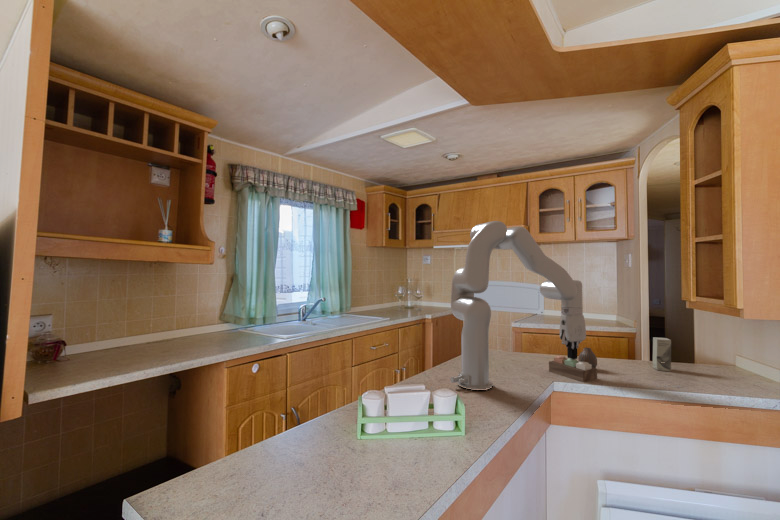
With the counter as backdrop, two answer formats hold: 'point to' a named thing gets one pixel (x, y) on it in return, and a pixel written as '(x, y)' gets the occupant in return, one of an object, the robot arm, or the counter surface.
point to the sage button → (571, 362)
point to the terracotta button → (560, 359)
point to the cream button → (583, 365)
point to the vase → (588, 357)
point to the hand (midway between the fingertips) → (572, 358)
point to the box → (662, 354)
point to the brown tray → (573, 372)
